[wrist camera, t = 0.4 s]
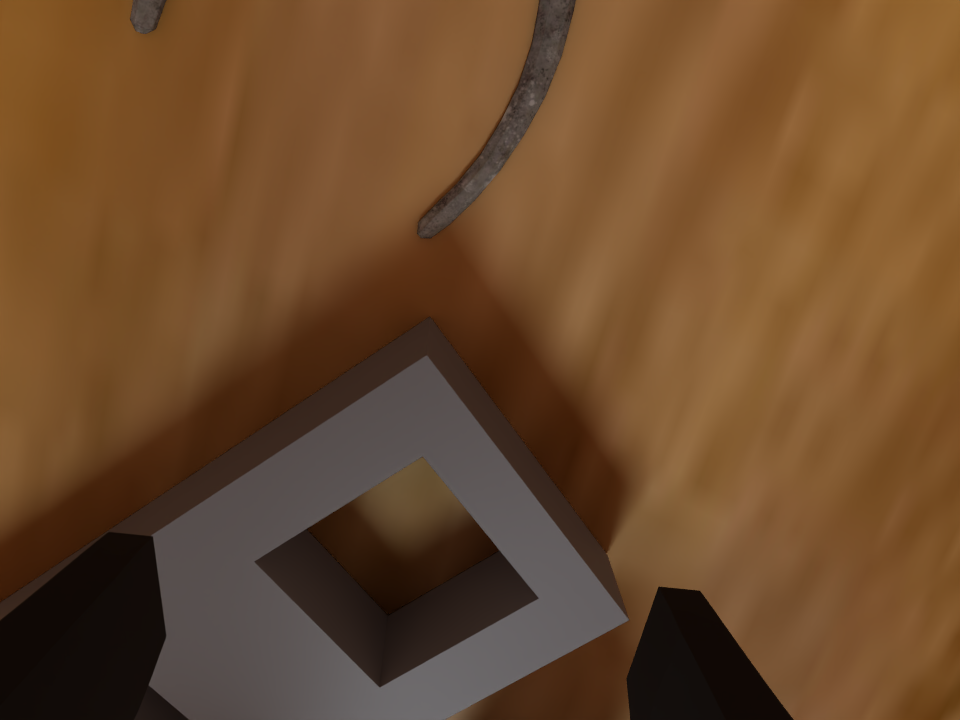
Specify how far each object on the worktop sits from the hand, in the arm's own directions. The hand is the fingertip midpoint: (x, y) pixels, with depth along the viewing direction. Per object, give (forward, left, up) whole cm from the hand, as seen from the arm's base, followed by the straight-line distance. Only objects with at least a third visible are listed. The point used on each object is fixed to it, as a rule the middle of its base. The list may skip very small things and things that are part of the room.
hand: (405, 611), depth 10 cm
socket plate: (-8, -4, -11) cm, 14 cm away
